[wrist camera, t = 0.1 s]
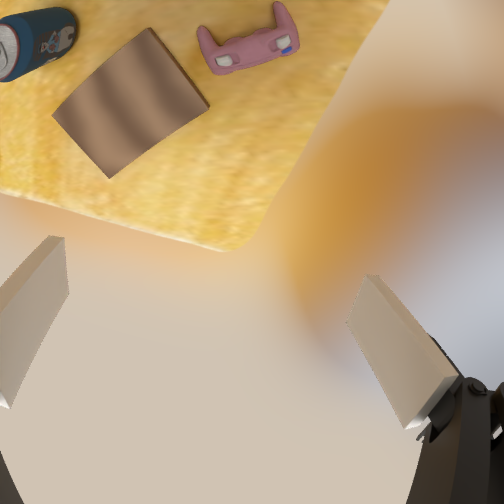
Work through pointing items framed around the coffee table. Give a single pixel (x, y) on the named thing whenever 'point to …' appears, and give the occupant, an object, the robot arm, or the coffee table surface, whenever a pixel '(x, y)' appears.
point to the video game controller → (251, 45)
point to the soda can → (34, 40)
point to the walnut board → (130, 104)
